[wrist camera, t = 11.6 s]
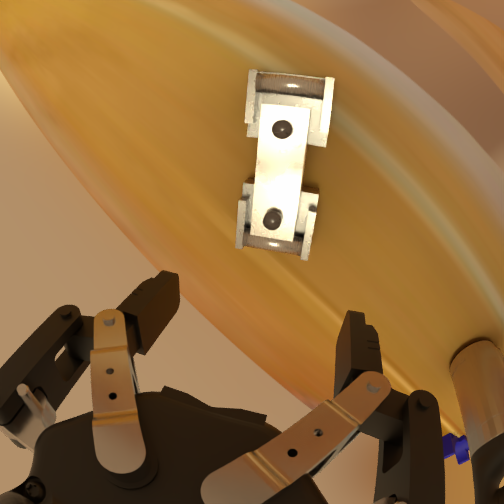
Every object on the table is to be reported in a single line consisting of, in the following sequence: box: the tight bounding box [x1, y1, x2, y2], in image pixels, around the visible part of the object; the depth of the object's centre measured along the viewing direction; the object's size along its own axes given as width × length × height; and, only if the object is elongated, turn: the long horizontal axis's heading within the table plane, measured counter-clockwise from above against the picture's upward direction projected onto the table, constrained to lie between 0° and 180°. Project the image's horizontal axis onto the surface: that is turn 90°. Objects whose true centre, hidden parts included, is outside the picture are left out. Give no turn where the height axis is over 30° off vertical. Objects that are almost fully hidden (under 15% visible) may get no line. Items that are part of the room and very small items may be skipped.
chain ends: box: [235, 69, 334, 261], centre depth 29 cm, size 8×19×4 cm, turn 175°
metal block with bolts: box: [250, 104, 312, 242], centre depth 27 cm, size 4×12×6 cm, turn 175°
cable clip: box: [442, 433, 469, 464], centre depth 45 cm, size 12×4×6 cm, turn 54°
